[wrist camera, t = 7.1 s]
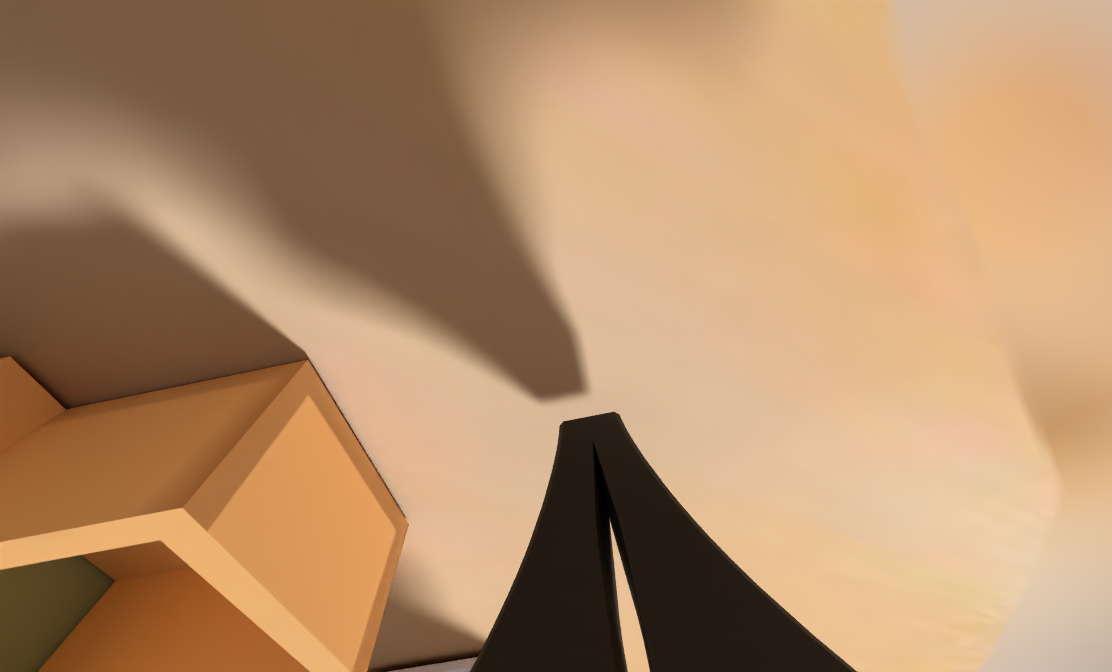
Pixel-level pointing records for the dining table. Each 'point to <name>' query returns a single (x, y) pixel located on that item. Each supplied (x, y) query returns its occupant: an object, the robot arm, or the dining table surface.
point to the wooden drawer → (203, 522)
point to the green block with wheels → (44, 608)
